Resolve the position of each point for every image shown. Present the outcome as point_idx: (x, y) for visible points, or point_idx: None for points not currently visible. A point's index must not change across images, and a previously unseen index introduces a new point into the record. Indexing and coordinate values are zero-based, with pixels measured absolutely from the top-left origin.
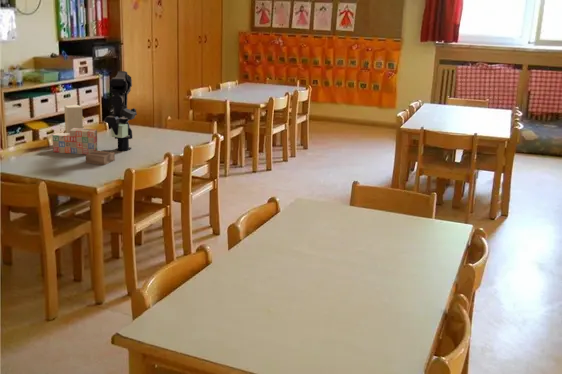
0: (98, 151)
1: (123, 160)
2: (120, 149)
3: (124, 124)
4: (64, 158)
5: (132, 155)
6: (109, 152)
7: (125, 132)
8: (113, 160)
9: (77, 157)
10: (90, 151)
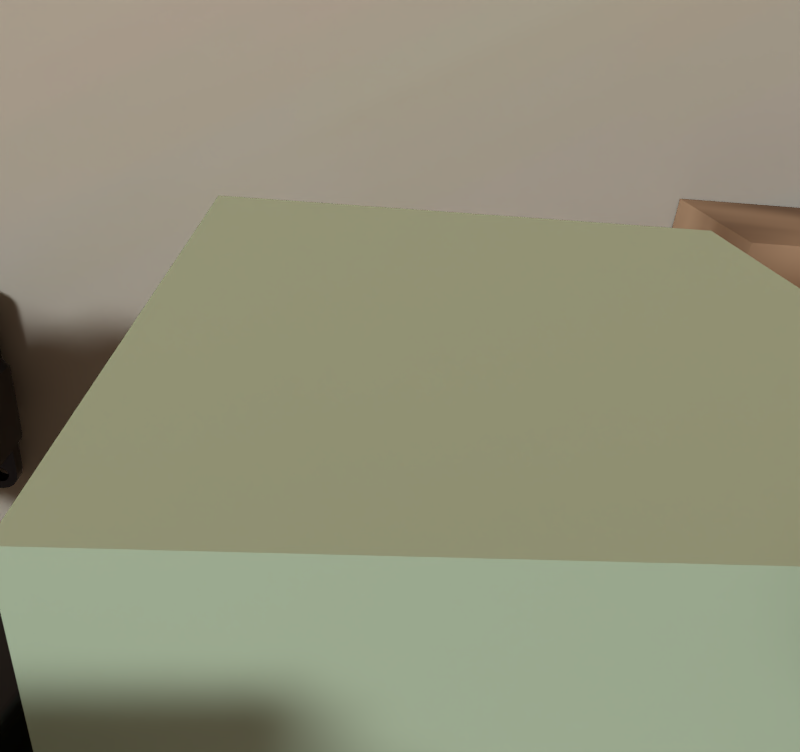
0: None
1: (659, 32)
2: (13, 393)
3: (327, 709)
4: None
5: (215, 20)
6: None
7: (462, 270)
8: (725, 202)
9: None
10: None
